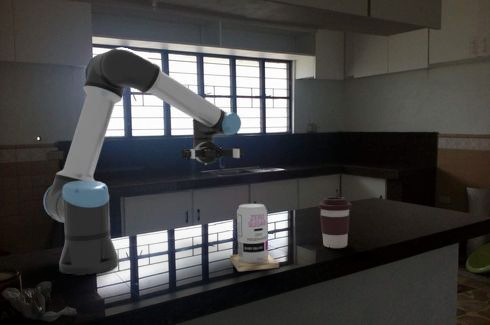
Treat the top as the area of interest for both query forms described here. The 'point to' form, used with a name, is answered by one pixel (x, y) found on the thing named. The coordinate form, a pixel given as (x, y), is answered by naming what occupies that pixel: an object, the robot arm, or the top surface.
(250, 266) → the trivet
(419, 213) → the top surface
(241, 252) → the supplement can
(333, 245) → the coffee cup
